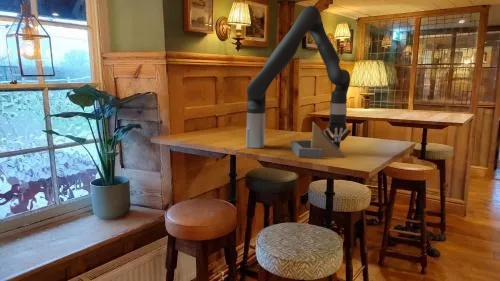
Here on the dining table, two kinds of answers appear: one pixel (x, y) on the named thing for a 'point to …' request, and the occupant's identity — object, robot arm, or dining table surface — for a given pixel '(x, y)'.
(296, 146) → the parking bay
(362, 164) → the dining table surface
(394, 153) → the dining table surface
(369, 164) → the dining table surface
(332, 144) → the sandwich container
